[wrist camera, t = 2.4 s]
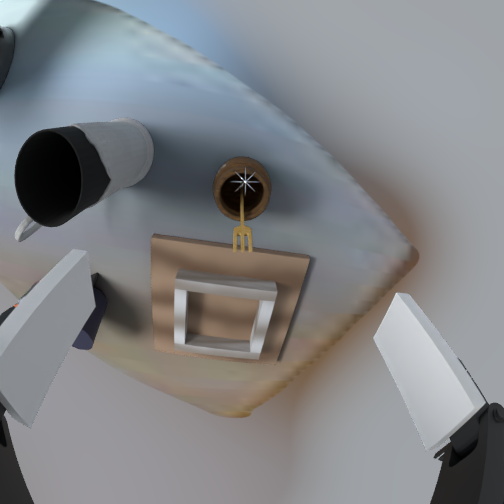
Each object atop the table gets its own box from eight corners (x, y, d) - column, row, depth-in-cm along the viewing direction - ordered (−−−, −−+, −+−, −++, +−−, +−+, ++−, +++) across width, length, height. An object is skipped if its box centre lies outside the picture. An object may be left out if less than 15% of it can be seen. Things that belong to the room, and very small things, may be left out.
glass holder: (168, 156, 29) (113, 183, 16) (94, 226, 32) (30, 286, 19) (126, 103, 26) (49, 96, 12) (57, 180, 29) (-19, 218, 15)
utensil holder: (268, 155, 30) (285, 173, 19) (266, 207, 32) (280, 252, 22) (215, 155, 29) (201, 172, 19) (216, 207, 32) (205, 252, 21)
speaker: (68, 273, 35) (40, 320, 26) (98, 272, 35) (72, 322, 26) (85, 310, 39) (64, 357, 30) (113, 310, 39) (95, 360, 30)
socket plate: (153, 233, 33) (145, 246, 30) (307, 255, 35) (314, 269, 32) (156, 345, 42) (151, 361, 38) (274, 359, 44) (277, 375, 41)
